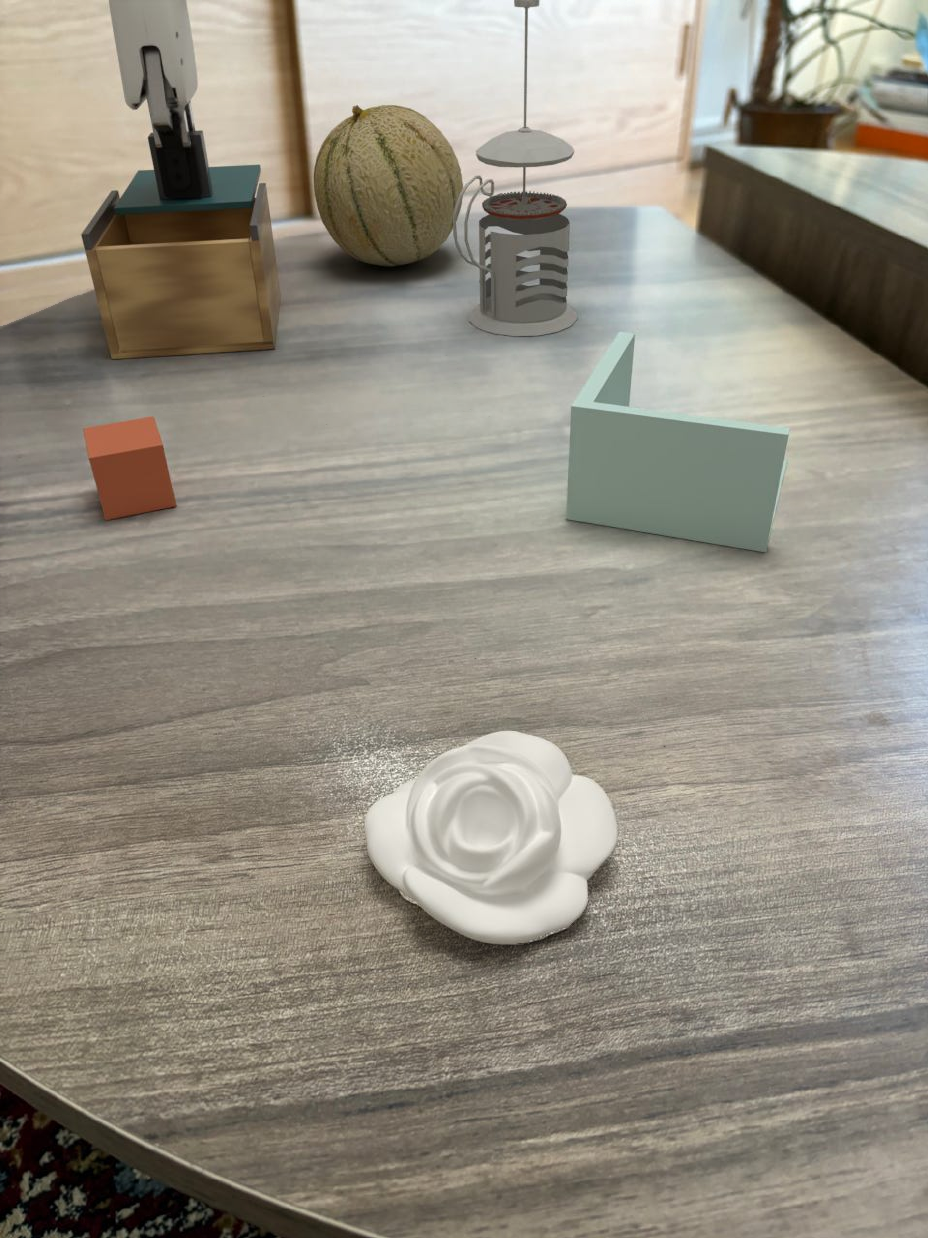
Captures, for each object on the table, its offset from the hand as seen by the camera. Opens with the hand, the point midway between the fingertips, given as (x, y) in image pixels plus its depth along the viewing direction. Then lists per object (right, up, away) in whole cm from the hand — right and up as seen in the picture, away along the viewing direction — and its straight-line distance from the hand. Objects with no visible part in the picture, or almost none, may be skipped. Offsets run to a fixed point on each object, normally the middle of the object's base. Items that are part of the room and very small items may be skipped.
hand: (185, 190), depth 87 cm
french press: (+29, -11, +2) cm, 31 cm away
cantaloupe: (+17, -1, +16) cm, 23 cm away
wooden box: (+1, -11, +3) cm, 11 cm away
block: (+3, -30, -22) cm, 37 cm away
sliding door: (0, +2, +4) cm, 4 cm away
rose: (+25, -47, -46) cm, 71 cm away
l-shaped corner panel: (+38, -29, -23) cm, 53 cm away
